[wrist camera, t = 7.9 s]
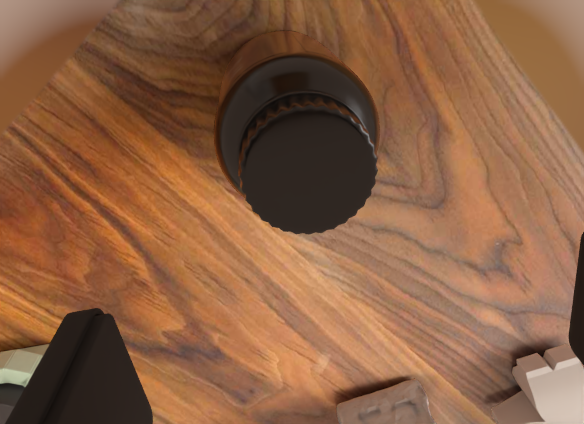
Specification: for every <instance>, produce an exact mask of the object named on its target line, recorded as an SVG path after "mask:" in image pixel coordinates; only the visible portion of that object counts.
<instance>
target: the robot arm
mask: <svg viewBox="0 0 584 424" xmlns="http://www.w3.org/2000/svg"><path fill="white" fill-rule="evenodd" d="M569 343H570V346H571V349H572V351H573V352H574V354H575V355H576V357H577V358H578V359H579V360H580V361H581V363H582V364H583V365H584V232H583V234H582V236H581V242H580V250H579V258H578V266H577V274H576V282H575V290H574V297H573V305H572V313H571V321H570V329H569ZM5 424H153V416H152V410H151V407H150V404H149V402H148V399H147V397H146V395H145V392H144V390H143V387H142V385H141V383H140V380H139V378H138V375H137V373H136V371H135V368H134V366H133V363H132V361H131V359H130V356H129V354H128V351H127V349H126V347H125V344H124V342H123V339H122V337H121V335H120V332H119V330H118V327H117V325H116V323H115V320H114V318H113V316H112V315H111V314H104V313H103V311H102V310H101V309H98V308H95V309H89V310H83V311H77V312H72V313H69V314H67V315H66V316H65V318H64V319H63V321H62V323H61V325H60V326H59V328H58V330H57V332H56V334H55V335H54V337H53V339H52V341H51V342H50V344H49V346H48V348H47V350H46V351H45V353H44V355H43V357H42V358H41V360H40V362H39V364H38V366H37V367H36V369H35V371H34V373H33V375H32V376H31V378H30V380H29V382H28V383H27V385H26V387H25V389H24V391H23V392H22V394H21V396H20V398H19V399H18V401H17V403H16V405H15V407H14V408H13V410H12V412H11V414H10V416H9V417H8V419H7V421H6V423H5Z"/></svg>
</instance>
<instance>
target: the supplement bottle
mask: <svg viewBox="0 0 584 424" xmlns="http://www.w3.org/2000/svg"><path fill="white" fill-rule="evenodd" d="M379 138H380V126H379V118H378V113H377V109H376V106H375V103H374V101H373V99H372V97H371V95H370V93H369V91H368V90H367V88H366V87H365V85H364V84H363V82H362V81H361V80H360V79H359V78H358V76H357V75H356V74H355V73H354V72H353V71H351V70H350V69H349V68H348V67H347V66H346V65H345V64H344V63H343V62H342V61H341V60H339V59H338V58H337V57H336V56H335V55H334V54H333V53H332V52H331V51H330V50H328V49H327V48H326V47H325V46H324V45H322V44H321V43H320V42H318V41H317V40H315V39H313V38H312V37H309V36H307V35H305V34H302V33H298V32H293V31H274V32H269V33H265V34H262V35H260V36H257V37H255V38H253V39H252V40H250V41H249V42H247V43H246V44H245V45H243V46H242V47H241V48H240V49H239V50H238V51H237V52H236V54H235V55H234V56H233V57H232V59H231V61H230V62H229V64H228V66H227V68H226V70H225V73H224V76H223V80H222V83H221V89H220V95H219V101H218V106H217V112H216V118H215V124H214V144H215V151H216V156H217V159H218V162H219V165H220V167H221V169H222V172H223V173H224V175H225V177H226V178H227V180H228V181H229V183H230V184H231V185H232V187H233V188H234V189H235V190H236V191H237V192H238V193H239V194H240V195H241V196H242V197H244V198H245V200H246V201H247V202H248V203H249V204H250V205H251V207H252V210H253V212H255V213H257V214H259V216H260V218H261V219H262V220H263V221H266V222H269V223H270V225H271V226H272V227H276V228H280V229H281V230H282V231H285V232H288V231H291V232H293V233H295V234H300V233H305V234H312V233H315V232H317V233H322V232H324V231H326V230H330V229H334V228H336V227H337V226H338V225H340V224H343V223H346V221H347V220H348V219H349V218H350V217H353V216H355V215H356V213H357V211H358V210H359V209H360V208H362V207H363V206H364V204H365V201H366V199H367V198H369V196H370V195H371V189H372V188H373V186H374V185H375V176H376V174H377V171H378V169H377V166H376V162H377V155H376V154H377V150H378V146H379Z"/></svg>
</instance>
